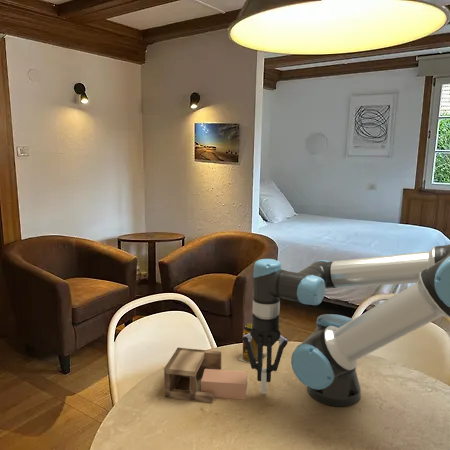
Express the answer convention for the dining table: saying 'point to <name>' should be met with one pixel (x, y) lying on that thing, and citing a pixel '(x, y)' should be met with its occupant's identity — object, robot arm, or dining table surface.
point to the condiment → (255, 346)
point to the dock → (189, 372)
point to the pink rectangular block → (225, 383)
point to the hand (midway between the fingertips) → (263, 390)
